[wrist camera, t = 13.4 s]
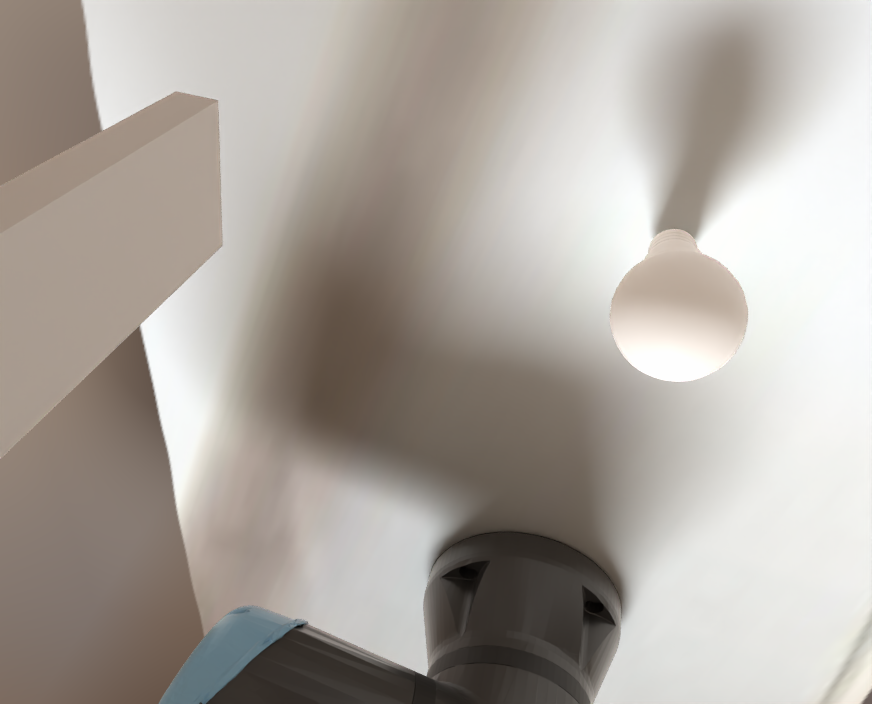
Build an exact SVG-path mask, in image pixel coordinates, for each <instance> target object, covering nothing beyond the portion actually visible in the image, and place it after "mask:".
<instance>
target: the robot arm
mask: <svg viewBox="0 0 872 704" xmlns="http://www.w3.org/2000/svg"><path fill="white" fill-rule="evenodd" d="M221 247H222V213H221V179H220V146H219V112H218V100H214V99H209V98H204V97H199V96H195V95H190V94H185V93H180V92H174V93H172V94H171V95H169V96H167V97H165V98H163V99H161V100H159V101H157V102H156V103H154V104H152V105H150V106H148V107H146V108H144V109H143V110H141V111H139V112H137V113H135V114H133V115H131V116H130V117H128V118H126V119H124V120H122V121H120V122H118V123H116V124H115V125H113V126H111V127H109V128H107V129H105V130H103V131H102V132H100V133H98V134H96V135H94V136H92V137H90V138H89V139H87V140H85V141H83V142H81V143H79V144H77V145H75V146H74V147H72V148H70V149H68V150H66V151H64V152H62V153H61V154H59V155H57V156H55V157H53V158H51V159H49V160H48V161H46V162H44V163H42V164H40V165H38V166H36V167H35V168H33V169H31V170H29V171H27V172H25V173H23V174H21V175H20V176H18V177H16V178H14V179H12V180H10V181H9V182H7V183H5V184H3V185H1V186H0V459H1V458H2V457H3V456H4V455H5V454H6V453H7V452H8V451H9V450H10V449H11V448H12V447H13V446H14V445H16V444H17V443H18V442H19V440H21V439H22V438H23V437H24V436H25V435H26V434H27V433H28V432H29V431H30V430H31V429H32V428H33V427H34V426H35V425H36V424H37V423H38V422H39V421H40V420H42V419H43V418H44V417H45V416H46V415H47V414H48V413H49V412H50V411H51V410H52V409H53V408H54V407H55V406H56V405H57V404H58V403H59V402H60V401H61V400H62V399H63V398H64V397H65V396H67V394H69V392H70V391H72V390H73V389H74V388H75V387H76V386H77V385H78V384H79V383H80V382H81V381H82V380H83V379H84V378H85V377H86V376H87V375H88V374H89V373H90V372H91V371H92V370H94V369H95V368H96V367H97V366H98V365H99V364H100V363H101V362H102V361H103V360H104V359H105V358H106V357H107V356H108V355H109V354H110V353H111V352H112V351H113V350H114V349H115V348H116V347H117V346H118V345H120V343H122V341H124V340H125V339H126V338H127V337H128V336H129V335H130V334H131V333H132V332H133V331H134V330H135V329H136V328H137V327H138V326H139V325H140V324H141V323H142V322H144V321H145V320H146V319H147V318H148V317H149V316H150V315H151V314H152V313H153V312H154V311H155V310H156V309H157V308H158V307H159V306H160V305H161V304H162V303H163V302H164V301H165V300H166V299H167V298H168V297H170V296H171V295H172V294H173V293H174V292H175V291H176V290H177V289H178V288H179V287H180V286H181V285H182V284H183V283H184V282H185V281H186V280H187V279H188V278H189V277H190V276H191V275H192V274H193V273H195V272H196V271H197V270H198V269H199V268H200V267H201V266H202V265H203V264H204V263H205V262H206V261H207V260H208V259H209V258H210V257H211V256H212V255H213V254H214V253H215V252H216V251H217V250H218V249H219V248H221ZM423 610H424V622H425V633H426V645H427V656H428V673H427V677H426V676H424V675H422V674H419V673H417V672H415V671H413V670H410V669H408V668H406V667H403V666H401V665H399V664H396V663H394V662H392V661H389V660H387V659H385V658H383V657H380V656H378V655H376V654H373V653H371V652H369V651H367V650H364V649H362V648H360V647H358V646H355V645H353V644H351V643H349V642H346V641H344V640H342V639H340V638H337V637H335V636H333V635H331V634H328V633H326V632H324V631H322V630H319V629H317V628H315V627H312V626H310V625H309V624H308V622H307V621H305V620H302V619H296V620H293V619H290V618H288V617H285V616H282V615H280V614H277V613H274V612H272V611H269V610H266V609H264V608H261V607H257V606H243V607H239V608H237V609H235V610H233V611H231V612H229V613H228V614H227V615H225V616H224V617H223V618H222V619H221V620H220V621H219V622H218V623H216V625H215V626H214V627H213V628H212V629H211V630H210V631H209V632H208V633H207V635H206V636H205V637H204V638H203V640H202V641H201V642H200V643H199V645H198V646H197V647H196V649H195V650H194V651H193V653H192V654H191V655H190V657H189V658H188V660H187V661H186V663H185V664H184V665H183V667H182V668H181V669H180V671H179V672H178V674H177V675H176V677H175V678H174V680H173V681H172V683H171V685H170V686H169V688H168V689H167V691H166V692H165V694H164V695H163V697H162V698H161V700H160V702H159V704H593V702H594V700H595V698H596V696H597V693H598V691H599V689H600V687H601V685H602V682H603V680H604V678H605V676H606V673H607V671H608V669H609V667H610V664H611V662H612V660H613V658H614V656H615V653H616V651H617V648H618V645H619V640H620V634H621V603H620V599H619V596H618V593H617V591H616V589H615V587H614V585H613V583H612V582H611V580H610V579H609V578H608V576H607V575H606V574H605V573H604V572H603V571H602V570H601V569H600V568H599V567H598V566H597V565H596V564H595V563H594V562H592V561H591V560H590V559H588V558H587V557H586V556H584V555H583V554H581V553H579V552H578V551H576V550H574V549H572V548H570V547H568V546H566V545H564V544H561V543H559V542H556V541H553V540H550V539H547V538H543V537H539V536H535V535H529V534H522V533H508V532H503V533H489V534H483V535H478V536H474V537H471V538H468V539H465V540H463V541H461V542H458V543H457V544H455V545H453V546H452V547H450V548H449V549H447V550H446V551H445V552H444V553H443V554H442V555H441V556H440V557H439V558H438V559H437V561H436V562H435V564H434V566H433V568H432V570H431V573H430V577H429V580H428V584H427V587H426V591H425V595H424V603H423Z"/></svg>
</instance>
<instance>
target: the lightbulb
mask: <svg viewBox="0 0 872 704" xmlns="http://www.w3.org/2000/svg"><path fill="white" fill-rule="evenodd" d="M747 322H748V308H747V303H746V299H745V295H744V292H743V290H742V288H741V286H740V284H739V282H738V281H737V279H736V278H735V277H734V276H733V275H732V274H731V272H730V271H729V270H728V269H727V268H726V267H725V266H724V265H722V264H721V263H720V262H718V261H717V260H715V259H713V258H711V257H709V256H707V255H704V254H702V253H701V251H700V250H699V249H698V247H697V245H696V242H695V240H694V238H693V237H692V236H691V235H690V234H689V233H688V232H686V231H684V230H680V229H668V230H664V231H662V232H660V233H659V234H657V235H656V236H655V237H654V238H653V240H652V241H651V243H650V246H649V250H648V254H647V256H646V257H645V259H644V260H643V261H641V262H640V263H638V264H637V265H635V266H634V267H633V268H632V269H631V270H630V271H629V272H628V273H627V274H626V275H625V276H624V278H623V279H622V281H621V282H620V284H619V286H618V287H617V289H616V291H615V293H614V296H613V299H612V302H611V309H610V326H611V331H612V334H613V337H614V340H615V343H616V345H617V347H618V348H619V350H620V351H621V353H622V354H623V356H624V357H625V358H626V359H627V360H628V361H629V362H630V364H631V365H632V366H634V367H635V368H637V369H638V370H639V371H641V372H643V373H645V374H647V375H649V376H651V377H654V378H658V379H661V380H665V381H673V382H682V381H690V380H696V379H699V378H702V377H704V376H707V375H709V374H711V373H713V372H715V371H716V370H718V369H720V368H721V367H722V366H723V365H725V364H726V363H727V362H728V361H729V360H730V359H731V358H732V356H733V355H734V354H735V353H736V351H737V350H738V348H739V346H740V344H741V342H742V340H743V338H744V335H745V331H746V327H747Z"/></svg>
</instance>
